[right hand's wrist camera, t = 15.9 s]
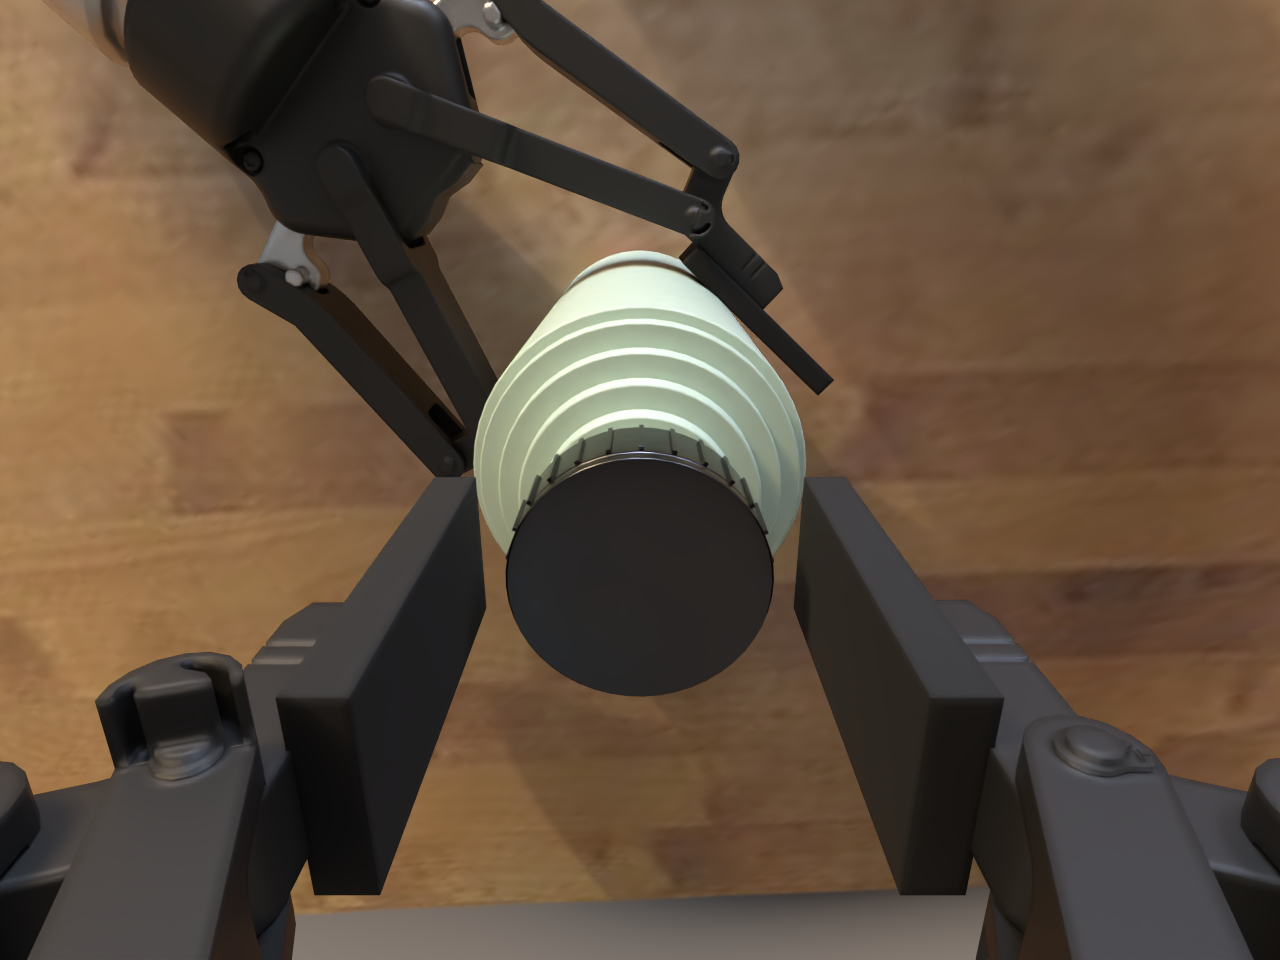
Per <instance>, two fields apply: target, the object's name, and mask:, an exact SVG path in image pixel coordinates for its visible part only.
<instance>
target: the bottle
mask: <svg viewBox="0 0 1280 960" xmlns="http://www.w3.org/2000/svg"><path fill="white" fill-rule="evenodd" d="M639 425H644V427H648V428H658V429H664V430H670V428H672V429H675V432H676V433H680V434H683V435H686V436H688V437H690V438H693V439H695V440H697V441H698V440H699V439H701V440H703V442H704V445H706V446H708V447H709V448H711V449H712V450H714V451H715V452H716V453H718V454H719V455H720V456H721V457H723V456H726V457H727V458H728V461H729V464H730V465H731V466H732V467H733V469H734V470H735V471H736V472H737V473H738V475H739V476H740V478H741V479H742V478H743V477H744V478H745V479H746V481H747V484H748V486H749V489H750V492H751V494H752V497H753V500H754V503H756V502H757V503H758V506H759V509H760V511H761V514H762V517H763V519H764V522H765V524H766V527H767V530H768V533H769V534H766V538H767V541H768V544H769V547H770V550H771V553H772V556H773V555H774V554H775V552H776V551H777V550H778V548H779V547H780V545H781V544H782V543H783V541H784V539H785V537H786V536H787V534H788V532H789V530H790V528H791V526H792V524H793V522H794V519H795V517H796V514H797V511H798V508H799V506H800V502H801V498H802V493H803V485H804V477H805V472H806V453H805V441H804V436H803V431H802V426H801V422H800V419H799V416H798V413H797V411H796V408H795V405H794V402H793V400H792V399H791V397H790V395H789V393H788V391H787V389H786V387H785V385H784V383H783V382H782V381H781V379H780V378H779V376H778V375H777V374H776V372H775V371H774V369H773V368H772V367H771V365H770V364H769V363H768V361H767V360H766V359H765V357H764V356H763V355H762V353H761V352H760V351H759V349H758V348H757V347H756V345H755V344H754V343H753V341H752V340H751V339H750V337H749V336H748V335H747V333H746V332H745V331H744V329H743V328H742V327H741V325H740V324H739V323H738V321H737V320H736V319H735V317H734V316H733V315H732V313H731V312H730V311H729V310H728V308H727V307H726V306H725V305H724V304H723V303H722V302H721V301H720V300H719V299H718V298H717V297H716V296H715V295H714V294H713V293H712V292H711V291H710V290H709V289H708V288H707V287H706V286H705V285H704V284H703V283H702V282H701V281H700V280H699V279H698V278H697V277H696V276H695V275H694V274H693V273H692V272H691V271H690V270H689V269H687V268H686V267H685V266H684V265H683V263H682V262H681V261H680V260H678V259H676V258H674V257H671V256H668V255H665V254H661V253H658V252H650V251H629V252H622V253H618V254H615V255H611V256H608V257H606V258H604V259H602V260H599V261H598V262H596V263H594V264H593V265H591V266H589V267H588V268H587V269H585V270H584V271H583V272H582V273H580V274H579V275H578V276H577V277H576V278H575V279H574V281H573V282H572V283H571V284H570V285H569V287H568V288H567V289H566V290H565V292H564V293H563V294H562V296H561V297H560V298H559V300H558V301H557V302H556V304H555V305H554V306H553V308H552V309H551V310H550V312H549V313H548V314H547V316H546V317H545V318H544V320H543V321H542V322H541V324H540V325H539V326H538V328H537V329H536V330H535V331H534V333H533V334H532V335H531V337H530V338H529V339H528V341H527V342H526V343H525V345H524V346H523V347H522V349H521V350H520V351H519V353H518V354H517V355H516V357H515V358H514V359H513V361H512V362H511V363H510V365H509V366H508V367H507V369H506V370H505V371H504V373H503V374H502V376H501V377H500V378H499V380H498V381H497V383H496V384H495V386H494V388H493V390H492V392H491V394H490V396H489V398H488V400H487V401H486V404H485V406H484V409H483V412H482V415H481V418H480V421H479V424H478V429H477V434H476V439H475V445H474V462H473V465H474V477H476V485H477V495H478V500H479V504H480V507H481V510H482V512H483V515H484V518H485V520H486V523H487V525H488V527H489V529H490V531H491V533H492V534H493V536H494V538H495V540H496V542H497V543H498V545H499V546H500V547H501V549H502V550H503V552H504V553H505V554H506V555H507V552H508V549H509V546H510V544H511V541H512V538H513V536H514V533H515V532H514V531H512V528H513V526H514V523H515V520H516V518H517V515H518V512H519V510H520V507H521V505H522V502H523V500H527V498H528V495H529V492H530V490H531V487H532V484H533V482H534V479H535V477H536V475H539V476H540V475H541V474H542V473H543V472H544V470H545V469H546V468H547V467H548V466H549V464H550V463H552V461H553V458H554V456H555V455H556V454H557V453H558V454H559V455H560V454H562V453H563V452H564V451H566V450H567V449H569V448H570V447H572V446H573V445H575V444H577V443H578V442H579V439H580V438H582V437H583V438H584V440H585V439H587V438H589V437H591V436H594V435H597V434H600V433H603V432H606V431H608V428H613V430H616V429H620V428H632V427H639Z"/></svg>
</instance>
